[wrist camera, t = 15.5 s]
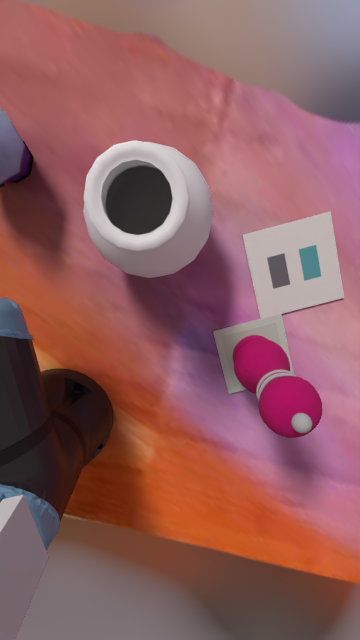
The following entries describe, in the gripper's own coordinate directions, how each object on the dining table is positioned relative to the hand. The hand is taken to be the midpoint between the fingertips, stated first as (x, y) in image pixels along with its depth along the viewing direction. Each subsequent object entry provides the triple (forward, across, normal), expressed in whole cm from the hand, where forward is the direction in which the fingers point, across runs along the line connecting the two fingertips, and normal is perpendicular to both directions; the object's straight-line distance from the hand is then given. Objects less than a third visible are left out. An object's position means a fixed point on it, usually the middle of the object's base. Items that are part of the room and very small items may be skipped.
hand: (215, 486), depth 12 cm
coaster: (+37, +8, -9) cm, 39 cm away
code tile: (+37, +16, +2) cm, 40 cm away
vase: (+37, -1, +12) cm, 39 cm away
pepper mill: (+36, +8, -10) cm, 39 cm away
